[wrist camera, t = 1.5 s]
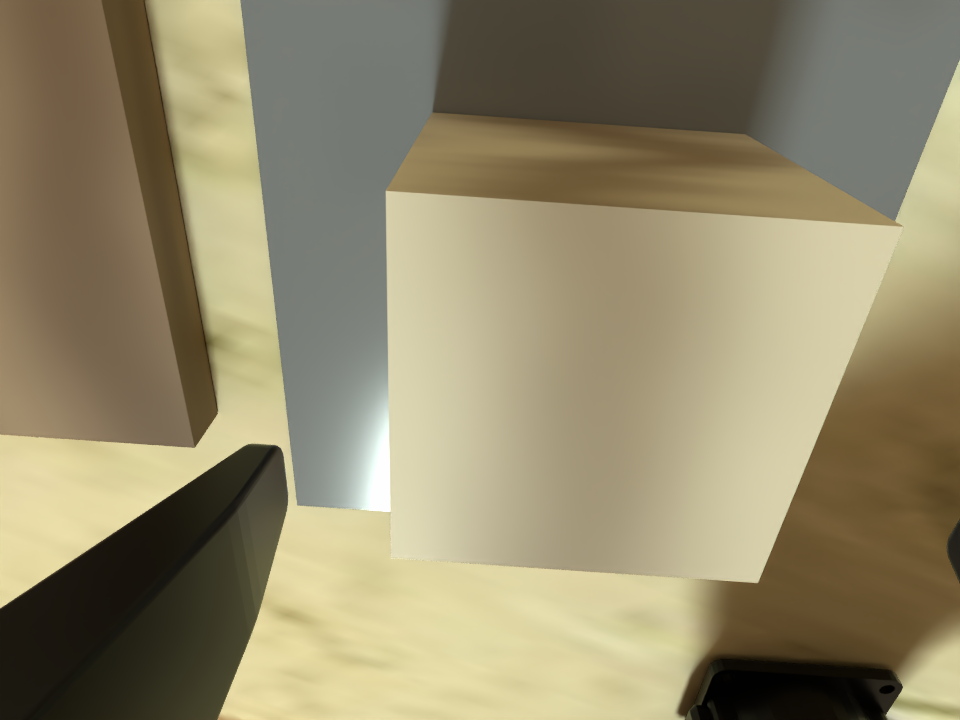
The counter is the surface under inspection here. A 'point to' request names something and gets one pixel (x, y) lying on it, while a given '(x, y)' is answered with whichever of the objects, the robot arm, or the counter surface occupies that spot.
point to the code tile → (540, 96)
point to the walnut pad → (92, 235)
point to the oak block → (612, 343)
